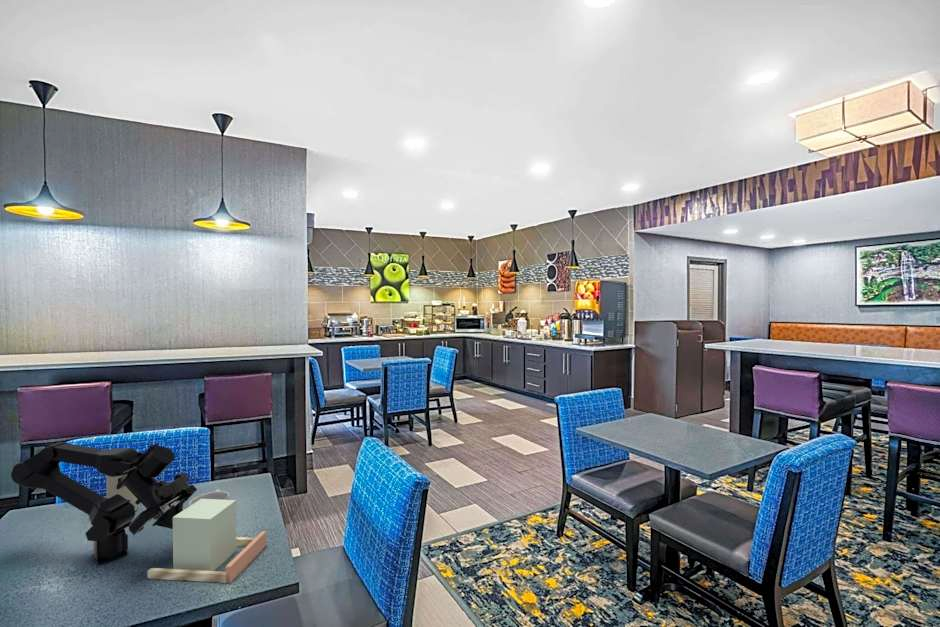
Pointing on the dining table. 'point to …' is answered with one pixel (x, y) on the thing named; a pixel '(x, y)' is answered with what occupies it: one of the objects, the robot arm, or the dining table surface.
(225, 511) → the sage block
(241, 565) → the guide chute
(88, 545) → the dining table surface
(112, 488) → the travel mug
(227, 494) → the teacup
